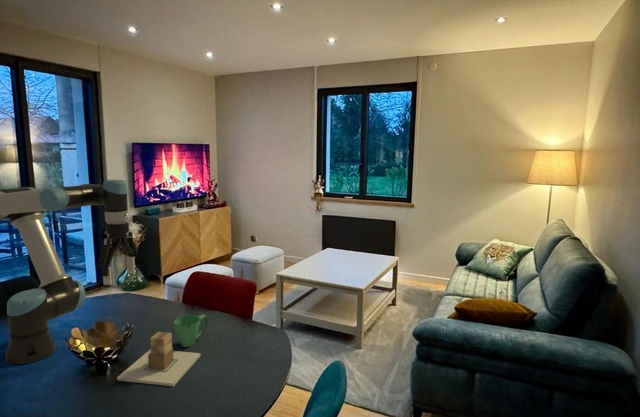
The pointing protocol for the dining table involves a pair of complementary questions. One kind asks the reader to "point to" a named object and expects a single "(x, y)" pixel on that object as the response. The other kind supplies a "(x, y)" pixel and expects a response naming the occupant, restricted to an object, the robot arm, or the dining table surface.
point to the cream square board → (160, 368)
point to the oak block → (161, 343)
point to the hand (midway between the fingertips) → (120, 278)
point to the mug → (189, 328)
